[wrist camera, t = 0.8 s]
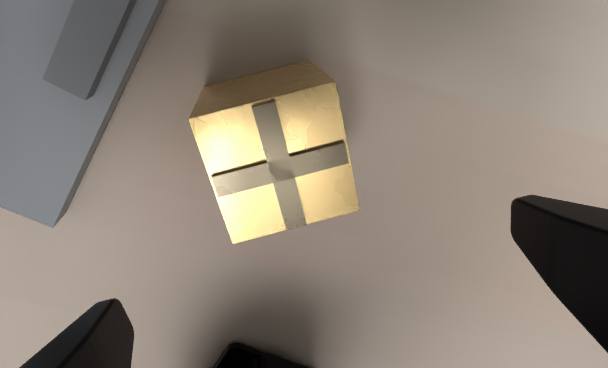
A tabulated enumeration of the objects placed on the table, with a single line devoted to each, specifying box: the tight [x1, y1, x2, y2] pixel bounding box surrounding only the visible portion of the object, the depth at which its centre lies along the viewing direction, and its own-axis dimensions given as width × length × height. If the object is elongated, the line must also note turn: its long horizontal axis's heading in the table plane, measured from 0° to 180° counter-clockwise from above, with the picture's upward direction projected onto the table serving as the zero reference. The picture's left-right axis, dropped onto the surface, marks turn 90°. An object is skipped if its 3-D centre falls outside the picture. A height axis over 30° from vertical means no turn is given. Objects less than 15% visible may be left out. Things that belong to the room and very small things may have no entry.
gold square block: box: [189, 60, 359, 244], centre depth 17 cm, size 5×5×6 cm
